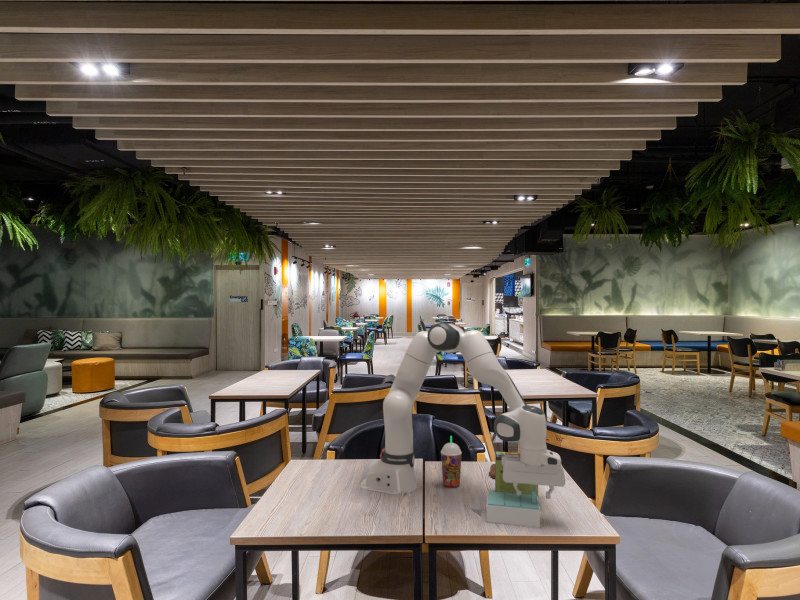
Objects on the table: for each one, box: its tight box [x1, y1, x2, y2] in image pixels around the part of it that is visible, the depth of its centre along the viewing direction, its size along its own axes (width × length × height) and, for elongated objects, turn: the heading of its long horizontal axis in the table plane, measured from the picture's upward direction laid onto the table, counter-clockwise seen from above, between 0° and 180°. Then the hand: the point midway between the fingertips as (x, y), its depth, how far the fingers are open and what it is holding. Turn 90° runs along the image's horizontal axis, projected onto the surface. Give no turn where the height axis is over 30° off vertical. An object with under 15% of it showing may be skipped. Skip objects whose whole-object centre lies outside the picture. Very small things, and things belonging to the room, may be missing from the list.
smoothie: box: [440, 435, 463, 489], centre depth 183 cm, size 8×8×20 cm
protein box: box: [494, 451, 539, 498], centre depth 172 cm, size 10×15×16 cm
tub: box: [485, 494, 541, 529], centre depth 155 cm, size 17×11×6 cm, turn 77°
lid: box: [486, 486, 540, 510], centre depth 155 cm, size 16×10×6 cm, turn 77°
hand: (533, 496), depth 153 cm, fingers open, 8 cm apart
